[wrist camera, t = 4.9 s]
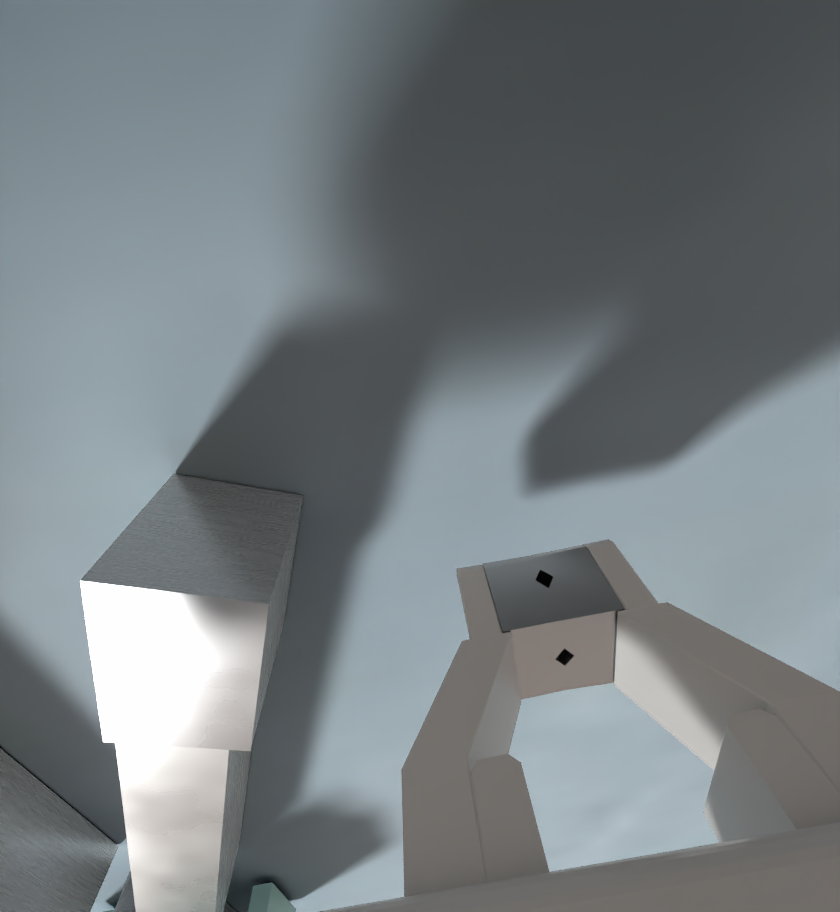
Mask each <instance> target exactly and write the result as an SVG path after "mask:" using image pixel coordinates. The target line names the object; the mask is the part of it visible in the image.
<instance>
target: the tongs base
mask: <svg viewBox="0 0 840 912" xmlns="http://www.w3.org/2000/svg"><path fill="white" fill-rule="evenodd" d="M117 849H118V845H117V844H115V843H114V842H113V841H112V840H110V839H109V838H108V837H107V836H106V835H104V834H103V833H102V832H101V831H100V830H98V829H97V828H96V827H95V826H94V825H92V824H91V823H90V822H89V821H88V820H86V819H85V818H84V817H83V816H82V815H80V814H79V813H78V812H77V811H75V810H74V809H73V808H72V807H71V806H69V805H68V804H67V803H66V802H65V801H63V800H62V799H61V798H60V797H59V796H57V795H56V794H55V793H54V792H53V791H51V790H50V789H49V788H48V787H47V786H45V785H44V784H43V783H42V782H40V781H39V780H38V779H37V778H36V777H34V776H33V775H32V774H31V773H30V772H28V771H27V770H26V769H25V768H24V767H22V766H21V765H20V764H19V763H18V762H16V761H15V760H14V759H13V758H12V757H10V756H9V755H8V754H7V753H5V752H4V751H3V750H2V749H1V748H0V912H90V911H91V909H92V906H93V904H94V902H95V899H96V897H97V895H98V892H99V890H100V888H101V886H102V883H103V881H104V879H105V876H106V874H107V872H108V869H109V867H110V865H111V863H112V860H113V858H114V856H115V853H116V851H117ZM114 912H136V910H135V902H134V894H133V885H132V877H131V871H130V872H129V875H128V877H127V880H126V882H125V885H124V887H123V890H122V892H121V895H120V897H119V900H118V902H117V905H116V907H115V910H114ZM223 912H237V911H236V910H235V909H233V908H232V907H231V906H230V905H229V904H228V903H227V902H225V907H224V911H223Z"/></svg>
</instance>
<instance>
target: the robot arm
mask: <svg viewBox="0 0 840 912" xmlns="http://www.w3.org/2000/svg"><path fill="white" fill-rule="evenodd" d="M457 578H458V583H459V588H460V593H461V598H462V603H463V608H464V613H465V618H466V623H467V628H468V633H469V638H470V639H469V640H465V641H462V642H461V644H460V646H459V649H458V651H457V653H456V655H455V657H454V659H453V661H452V663H451V666H450V668H449V670H448V672H447V674H446V676H445V678H444V680H443V683H442V685H441V687H440V689H439V691H438V693H437V695H436V698H435V700H434V702H433V704H432V706H431V708H430V710H429V712H428V715H427V717H426V719H425V721H424V723H423V725H422V727H421V729H420V732H419V734H418V736H417V738H416V740H415V742H414V744H413V747H412V749H411V751H410V753H409V755H408V757H407V759H406V761H405V764H404V766H403V768H402V810H403V854H404V897H401V898H395V899H390V900H384V901H378V902H372V903H366V904H360V905H355V906H349V907H343V908H337V909H331V910H326V911H320V912H840V692H839V691H837V690H836V689H834V688H832V687H830V686H828V685H826V684H824V683H822V682H820V681H818V680H816V679H814V678H812V677H810V676H809V675H807V674H805V673H803V672H801V671H799V670H797V669H795V668H793V667H791V666H789V665H787V664H785V663H783V662H782V661H780V660H778V659H776V658H774V657H772V656H770V655H768V654H766V653H764V652H762V651H760V650H758V649H756V648H755V647H753V646H751V645H749V644H747V643H745V642H743V641H741V640H739V639H737V638H735V637H733V636H731V635H729V634H727V633H726V632H724V631H722V630H720V629H718V628H716V627H714V626H712V625H710V624H708V623H706V622H704V621H702V620H700V619H699V618H697V617H695V616H693V615H691V614H689V613H687V612H685V611H683V610H681V609H679V608H677V607H675V606H673V605H672V604H670V603H668V602H667V603H660V604H659V603H658V602H657V601H656V599H655V598H654V597H653V595H652V594H651V593H650V591H649V590H648V588H647V587H646V586H645V584H644V583H643V582H642V580H641V579H640V578H639V576H638V575H637V574H636V572H635V571H634V569H633V568H632V567H631V565H630V564H629V563H628V561H627V560H626V559H625V557H624V556H623V555H622V553H621V552H620V550H619V549H618V548H617V546H616V545H615V544H614V542H612V541H610V540H609V539H608V540H603V541H598V542H593V543H588V544H583V545H582V546H581V545H579V546H574V547H570V548H565V549H560V550H555V551H550V552H545V553H540V554H535V555H531V556H525V557H520V558H514V559H508V560H502V561H496V562H490V563H484V564H482V565H476V566H470V567H464V568H457ZM613 682H614V685H615V686H616V687H617V688H618V689H619V690H621V691H622V692H623V693H624V694H625V695H626V696H628V697H629V698H630V699H631V700H632V701H634V702H635V703H636V704H637V705H638V706H639V707H641V708H642V709H643V710H644V711H645V712H646V713H648V714H649V715H650V716H651V717H652V718H653V719H655V720H656V721H657V722H658V723H659V724H660V725H662V726H663V727H664V728H665V729H666V730H667V731H669V732H670V733H671V734H672V735H673V736H674V737H676V738H677V739H678V740H679V741H680V742H681V743H683V744H684V745H685V746H686V747H687V748H689V749H690V750H691V751H692V752H693V753H694V754H696V755H697V756H698V757H699V758H700V759H701V760H703V761H704V762H705V763H706V764H707V765H708V766H710V767H711V768H712V769H713V770H714V774H713V777H712V781H711V785H710V789H709V792H708V796H707V800H706V804H705V807H704V811H703V813H704V815H705V817H706V819H707V821H708V823H709V825H710V827H711V828H712V830H713V832H714V834H715V836H716V838H717V840H718V842H719V843H715V844H710V845H704V846H698V847H692V848H686V849H680V850H675V851H669V852H663V853H657V854H651V855H645V856H640V857H634V858H628V859H622V860H616V861H611V862H605V863H599V864H593V865H587V866H581V867H576V868H570V869H564V870H558V871H552V872H549V869H548V865H547V861H546V857H545V853H544V850H543V846H542V842H541V838H540V834H539V830H538V827H537V823H536V819H535V815H534V811H533V808H532V804H531V800H530V796H529V792H528V788H527V785H526V781H525V777H524V773H523V769H522V765H521V762H519V761H518V760H516V759H515V758H513V757H512V756H510V755H509V754H508V753H509V749H510V745H511V741H512V737H513V733H514V729H515V725H516V721H517V717H518V713H519V709H520V705H521V699H526V698H530V697H535V696H539V695H544V694H549V693H553V692H558V691H563V690H568V689H575V688H581V687H588V686H594V685H601V684H607V683H613Z"/></svg>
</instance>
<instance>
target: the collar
mask: <svg viewBox="0 0 840 912" xmlns="http://www.w3.org/2000/svg"><path fill="white" fill-rule="evenodd" d="M105 912H114V910H110V911H105ZM248 912H296V908H295V907H294V906H293V905H292V904H291V903H290V902H289V901H288V900H287V898H286V897H285V896H284V895H283V894H282V893H281V892H280V891H279V890H278V888H277V887H276V886H275V885H274V884H273V883H266V884H260V885H255V886H253V889H252V894H251V899H250V904H249V908H248Z"/></svg>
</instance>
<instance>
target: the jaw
mask: <svg viewBox="0 0 840 912" xmlns="http://www.w3.org/2000/svg"><path fill="white" fill-rule="evenodd" d="M302 500H303V495H297V494H291V493H285V492H279V491H273V490H267V489H261V488H255V487H249V486H243V485H237V484H231V483H225V482H219V481H213V480H207V479H201V478H195V477H189V476H183V475H177V474H173V475H172V476H171V477H170V478H169V479H168V481H167V482H166V483H165V484H164V485H163V486H162V488H161V489H160V490H159V491H158V492H157V493H156V494H155V496H154V497H153V498H152V499H151V500H150V501H149V502H148V504H147V505H146V506H145V507H144V508H143V509H142V510H141V512H140V513H139V514H138V515H137V516H136V517H135V518H134V520H133V521H132V522H131V523H130V524H129V525H128V526H127V528H126V529H125V530H124V531H123V532H122V533H121V534H120V536H119V537H118V538H117V539H116V540H115V541H114V542H113V544H112V545H111V546H110V547H109V548H108V549H107V550H106V552H105V553H104V554H103V555H102V556H101V557H100V558H99V560H98V561H97V562H96V563H95V564H94V565H93V566H92V568H91V569H90V570H89V571H88V572H87V573H86V575H85V576H84V577H83V578H82V579H81V580H80V584H81V591H82V598H83V605H84V612H85V619H86V626H87V633H88V640H89V647H90V654H91V661H92V668H93V675H94V682H95V689H96V696H97V703H98V710H99V717H100V724H101V731H102V738H103V742H112V743H115V746H116V754H117V763H118V771H119V779H120V787H121V795H122V804H123V812H124V820H125V828H126V836H127V844H128V853H129V861H130V869H131V877H132V885H133V894H134V902H135V910H136V912H223V911H224V907H225V902H226V898H227V894H228V890H229V886H230V882H231V877H232V873H233V869H234V865H235V861H236V857H237V852H238V848H239V844H240V837H241V829H242V821H243V813H244V805H245V797H246V789H247V782H248V774H249V766H250V758H251V750H252V744H253V740H254V736H255V732H256V729H257V725H258V721H259V717H260V713H261V709H262V706H263V702H264V698H265V694H266V690H267V686H268V683H269V679H270V675H271V671H272V667H273V664H274V660H275V656H276V652H277V648H278V644H279V641H280V637H281V633H282V629H283V625H284V619H285V613H286V606H287V599H288V593H289V586H290V579H291V573H292V566H293V559H294V553H295V546H296V539H297V533H298V526H299V520H300V513H301V506H302Z"/></svg>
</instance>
